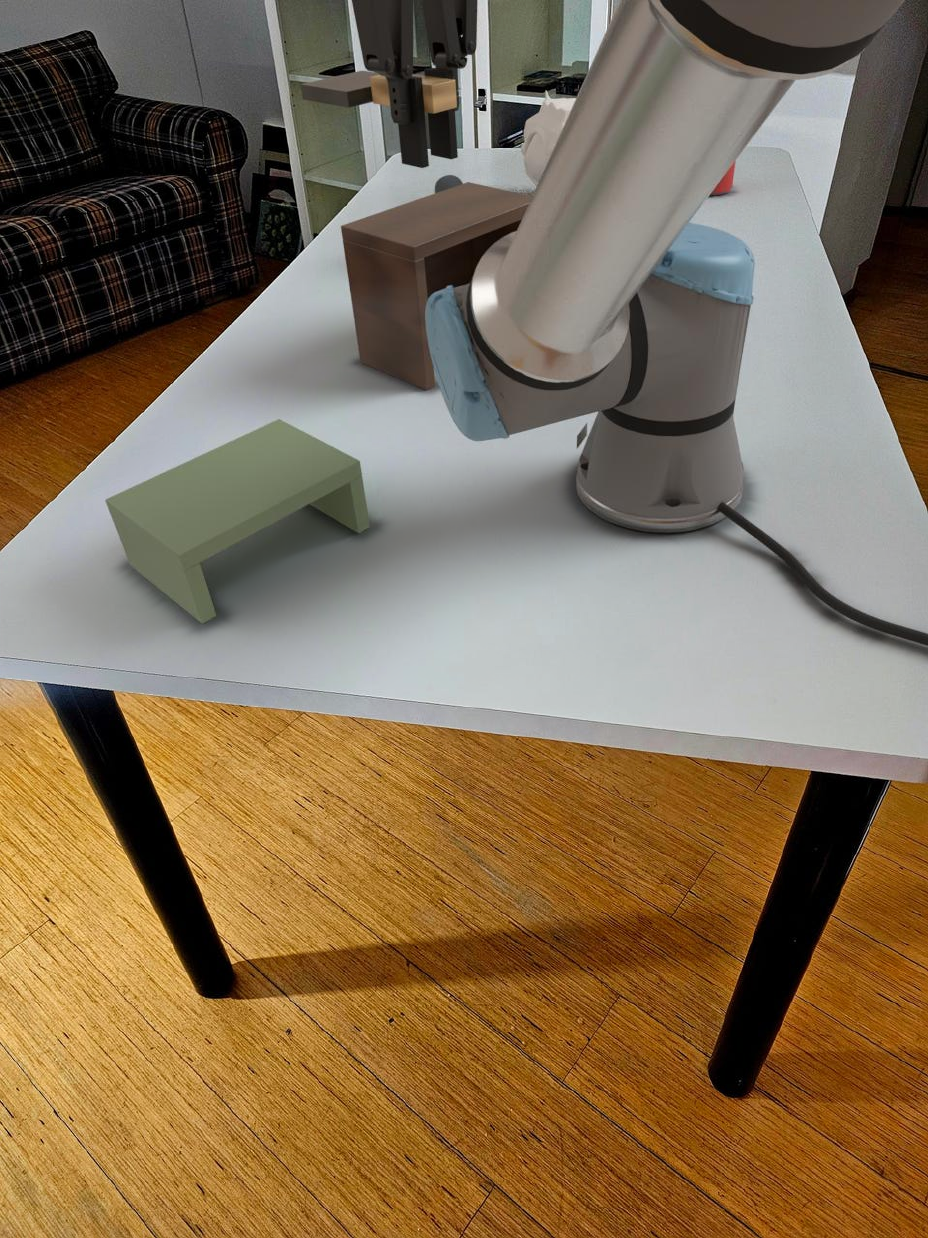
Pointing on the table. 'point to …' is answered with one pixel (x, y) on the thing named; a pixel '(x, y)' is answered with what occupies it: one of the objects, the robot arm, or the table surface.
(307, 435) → the low shelf
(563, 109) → the white ridged figurine
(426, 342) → the wooden side table
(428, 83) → the wood-handled square paddle
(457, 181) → the paintbrush
